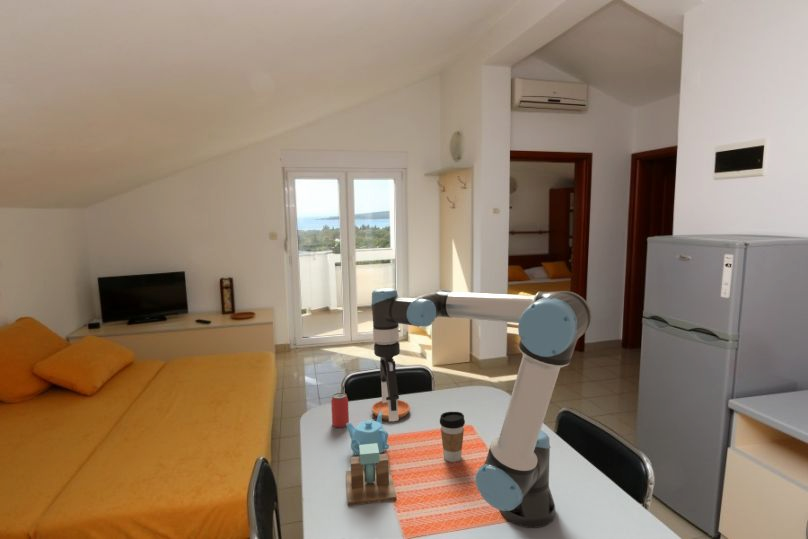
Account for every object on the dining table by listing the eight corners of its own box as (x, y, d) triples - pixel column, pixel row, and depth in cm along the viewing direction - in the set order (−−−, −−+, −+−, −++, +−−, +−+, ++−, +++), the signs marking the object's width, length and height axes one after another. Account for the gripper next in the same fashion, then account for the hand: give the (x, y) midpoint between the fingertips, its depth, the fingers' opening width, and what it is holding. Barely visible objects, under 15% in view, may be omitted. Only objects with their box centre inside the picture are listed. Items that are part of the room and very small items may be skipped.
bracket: (396, 499, 130) (395, 470, 129) (348, 505, 128) (347, 476, 127) (389, 469, 146) (388, 443, 145) (346, 473, 144) (345, 447, 142)
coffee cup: (464, 465, 147) (463, 421, 145) (438, 462, 149) (438, 419, 147) (465, 451, 155) (465, 410, 153) (441, 449, 157) (441, 409, 155)
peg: (380, 484, 134) (379, 452, 133) (361, 486, 133) (360, 454, 132) (378, 473, 140) (377, 443, 138) (360, 475, 139) (359, 444, 138)
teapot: (346, 444, 162) (344, 415, 160) (383, 439, 165) (382, 409, 164) (352, 467, 147) (351, 435, 146) (393, 460, 151) (392, 429, 149)
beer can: (352, 422, 179) (351, 394, 177) (341, 429, 173) (340, 400, 172) (339, 419, 182) (338, 390, 181) (328, 425, 177) (327, 396, 175)
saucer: (392, 402, 198) (392, 395, 198) (418, 413, 186) (417, 406, 186) (364, 413, 187) (363, 406, 187) (389, 426, 176) (388, 419, 175)
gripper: (407, 351, 120) (410, 427, 122) (392, 330, 144) (395, 393, 146) (379, 354, 118) (383, 431, 121) (369, 332, 143) (372, 396, 145)
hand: (390, 410), depth 134 cm, fingers open, 13 cm apart
